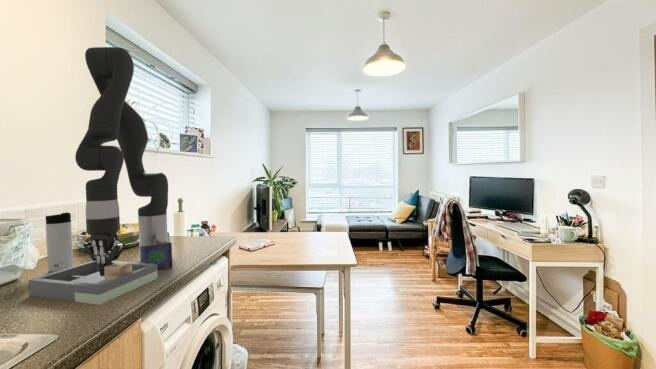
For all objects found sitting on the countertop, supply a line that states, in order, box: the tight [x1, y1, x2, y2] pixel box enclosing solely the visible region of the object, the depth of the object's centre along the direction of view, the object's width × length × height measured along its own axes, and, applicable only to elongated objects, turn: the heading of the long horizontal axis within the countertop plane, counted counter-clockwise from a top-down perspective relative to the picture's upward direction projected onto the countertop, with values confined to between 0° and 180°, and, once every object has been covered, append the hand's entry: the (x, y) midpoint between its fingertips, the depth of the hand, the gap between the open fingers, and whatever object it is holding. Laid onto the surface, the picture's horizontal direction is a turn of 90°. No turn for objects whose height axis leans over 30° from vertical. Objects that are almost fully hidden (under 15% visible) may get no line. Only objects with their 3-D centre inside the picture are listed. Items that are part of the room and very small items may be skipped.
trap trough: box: [27, 260, 159, 306], centre depth 82 cm, size 18×24×4 cm
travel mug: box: [45, 212, 75, 274], centre depth 96 cm, size 6×7×20 cm
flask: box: [139, 238, 173, 271], centre depth 97 cm, size 9×3×11 cm, turn 121°
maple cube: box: [104, 261, 132, 282], centre depth 80 cm, size 4×4×4 cm
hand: (105, 275), depth 82 cm, fingers closed
